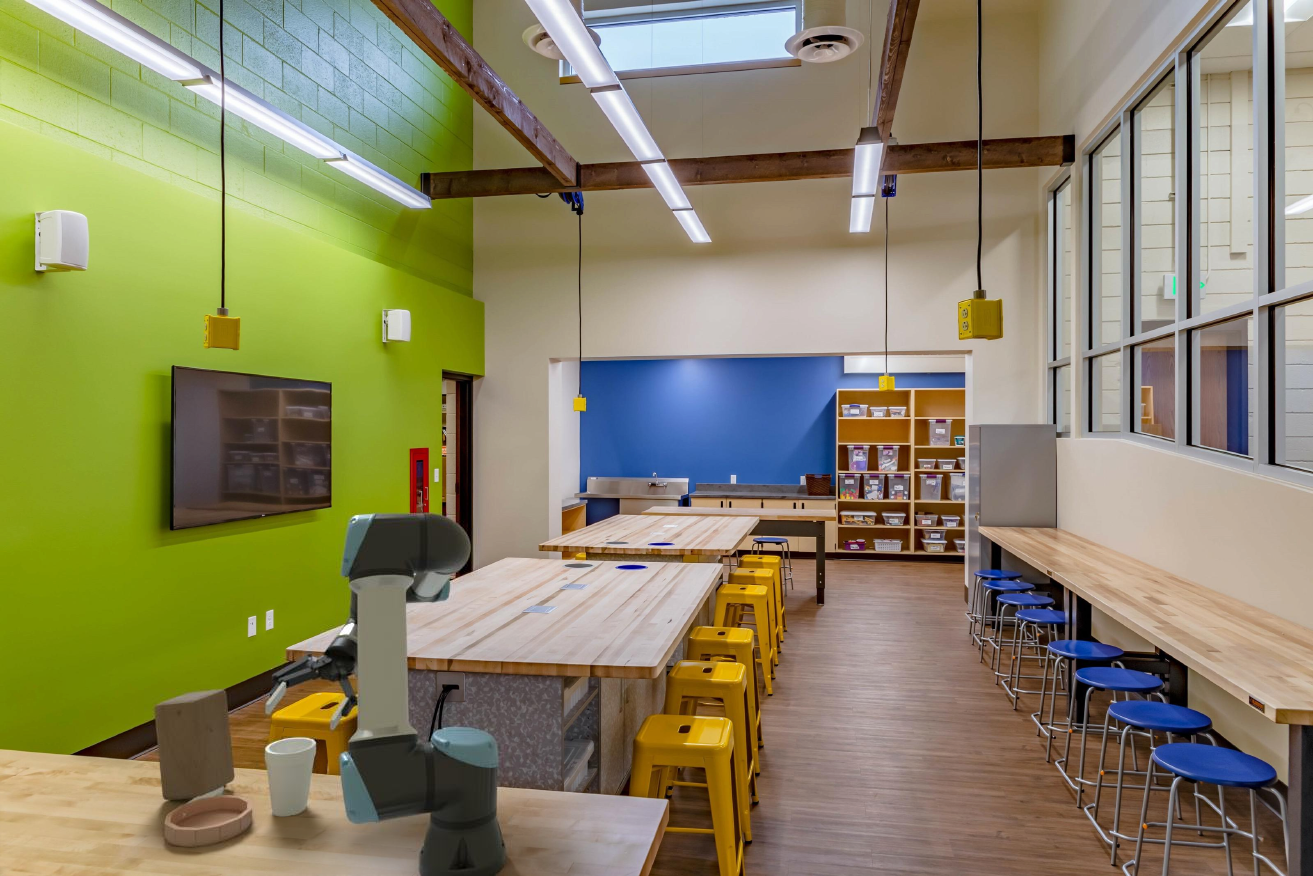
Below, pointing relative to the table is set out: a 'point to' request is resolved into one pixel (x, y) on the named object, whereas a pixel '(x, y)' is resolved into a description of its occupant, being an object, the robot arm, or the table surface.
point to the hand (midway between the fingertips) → (299, 717)
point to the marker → (209, 795)
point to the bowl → (208, 821)
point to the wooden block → (194, 744)
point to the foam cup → (289, 774)
